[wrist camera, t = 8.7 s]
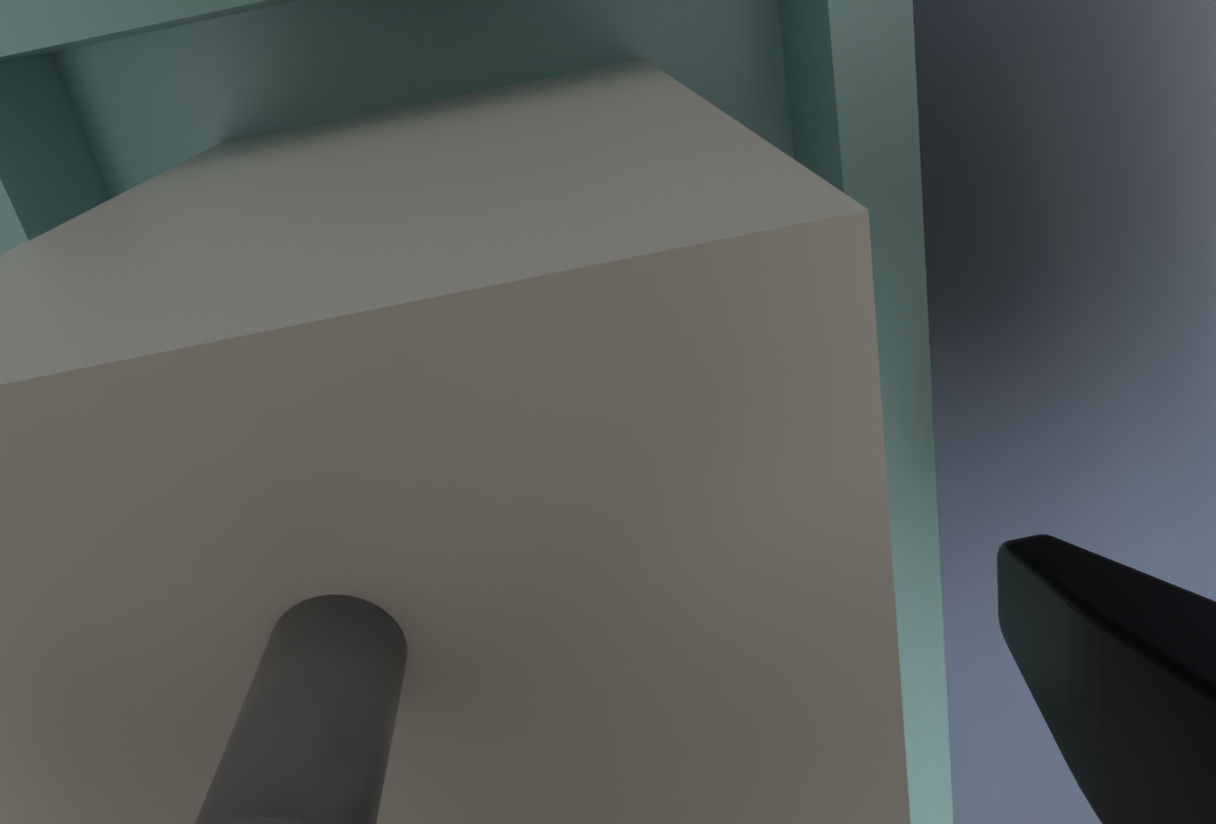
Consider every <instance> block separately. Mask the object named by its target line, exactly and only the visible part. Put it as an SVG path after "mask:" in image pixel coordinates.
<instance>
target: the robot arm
mask: <svg viewBox="0 0 1216 824" xmlns="http://www.w3.org/2000/svg"><path fill="white" fill-rule="evenodd" d="M997 581H998V618H999V624H1000V627H1001V631H1002V634H1003V637H1004V639H1005V641H1006V644H1007V646H1008V648H1009V650H1010V652H1011V654H1012V656H1013V658H1014V660H1015V662H1016V664H1017V666H1018V668H1019V670H1020V672H1021V674H1022V676H1023V677H1024V679H1025V681H1026V683H1027V685H1028V687H1029V689H1030V691H1031V693H1032V695H1033V697H1034V699H1035V701H1036V703H1037V705H1038V707H1039V709H1040V711H1041V713H1042V715H1043V717H1044V719H1045V721H1046V723H1047V725H1048V727H1049V729H1050V731H1051V733H1052V735H1053V737H1054V739H1055V741H1056V743H1057V745H1058V747H1059V749H1060V751H1061V753H1062V755H1063V757H1064V759H1065V761H1066V763H1067V765H1068V767H1069V769H1070V771H1071V772H1072V774H1073V776H1074V778H1075V780H1076V782H1077V784H1078V786H1079V787H1080V789H1081V790H1082V792H1083V794H1084V795H1085V797H1086V799H1087V800H1088V802H1089V804H1090V805H1091V807H1092V808H1093V810H1094V812H1095V813H1096V815H1097V816H1098V818H1099V819H1100V821H1101V823H1102V824H1216V601H1213V600H1211V599H1208V598H1206V597H1203V596H1201V595H1198V594H1196V593H1193V592H1191V591H1188V590H1186V589H1183V588H1181V587H1178V586H1176V585H1173V584H1171V583H1168V582H1166V581H1163V580H1161V579H1158V578H1156V577H1153V576H1151V575H1148V574H1146V573H1143V572H1141V571H1138V570H1136V569H1133V568H1131V567H1128V566H1126V565H1123V564H1121V563H1118V562H1116V561H1113V560H1111V559H1108V558H1106V557H1103V556H1101V555H1098V554H1095V553H1093V552H1090V551H1088V550H1085V549H1083V548H1080V547H1078V546H1075V545H1073V544H1070V543H1068V542H1065V541H1063V540H1060V539H1058V538H1055V537H1053V536H1050V535H1046V534H1039V535H1034V536H1029V537H1024V538H1019V539H1014V540H1009V541H1006V542H1004V543H1003V544H1002V545H1001V546H1000V547H999V551H998V555H997Z"/></svg>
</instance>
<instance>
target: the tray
mask: <svg viewBox="0 0 1216 824" xmlns="http://www.w3.org/2000/svg"><path fill="white" fill-rule="evenodd" d="M639 58H644V59H646V60H647V61H649V62H650V63H652V64H653V65H655V66H656V67H658V68H659V69H661V70H662V71H664V72H665V73H667V74H668V75H670V76H671V77H673V78H674V79H676V80H677V81H678V82H680V83H681V84H683V85H684V86H686V87H687V88H689V89H690V90H692V91H693V92H695V93H696V94H698V95H699V96H701V97H702V98H704V99H705V100H707V101H708V102H710V103H711V104H713V105H714V106H716V107H717V108H719V109H720V110H722V111H723V112H724V113H726V114H727V115H729V116H730V117H732V118H733V119H735V120H736V121H738V122H739V123H741V124H742V125H744V126H745V127H747V128H748V129H750V130H751V131H753V132H754V133H756V134H757V135H759V136H760V137H762V138H763V139H765V140H766V141H768V142H769V143H771V144H772V145H773V146H775V147H776V148H778V149H779V150H781V151H782V152H784V153H785V154H787V155H788V156H790V157H791V158H793V159H794V160H796V161H797V162H799V163H800V164H802V165H803V166H805V167H806V168H808V169H809V170H811V171H812V172H814V173H815V174H817V175H818V176H820V177H821V178H822V179H824V180H825V181H827V182H828V183H830V184H831V185H833V186H834V187H836V188H837V189H839V190H840V191H842V192H843V193H845V194H846V195H848V196H849V197H851V198H852V199H854V200H855V201H857V202H858V203H860V204H861V205H863V206H864V207H866V208H867V209H868V212H869V227H870V241H871V256H872V270H873V285H874V299H875V314H876V328H877V343H878V357H879V372H880V386H881V401H882V415H883V430H884V445H885V459H886V474H887V488H888V503H889V517H890V532H891V546H892V561H893V575H894V590H895V604H896V619H897V633H898V648H899V662H900V677H901V691H902V706H903V720H904V735H905V749H906V764H907V778H908V793H909V807H910V822H911V824H953V806H952V786H951V765H950V745H949V725H948V705H947V685H946V664H945V644H944V624H943V604H942V584H941V563H940V543H939V523H938V503H937V483H936V462H935V442H934V422H933V402H932V382H931V361H930V341H929V321H928V301H927V281H926V260H925V240H924V220H923V200H922V180H921V159H920V139H919V119H918V99H917V79H916V58H915V38H914V18H913V0H0V255H2V254H4V253H6V252H8V251H10V250H12V249H14V248H16V247H18V246H20V245H22V244H24V243H26V242H28V241H30V240H32V239H34V238H36V237H38V236H39V235H41V234H43V233H45V232H47V231H49V230H51V229H53V228H55V227H57V226H59V225H61V224H63V223H65V222H67V221H69V220H71V219H73V218H75V217H77V216H79V215H81V214H83V213H85V212H86V211H88V210H90V209H92V208H94V207H96V206H98V205H100V204H102V203H104V202H106V201H108V200H110V199H112V198H114V197H116V196H118V195H120V194H122V193H124V192H126V191H128V190H130V189H132V188H134V187H135V186H137V185H139V184H141V183H143V182H145V181H147V180H149V179H151V178H153V177H155V176H157V175H159V174H161V173H163V172H165V171H167V170H169V169H171V168H173V167H175V166H177V165H179V164H181V163H182V162H184V161H186V160H188V159H190V158H192V157H194V156H196V155H198V154H200V153H202V152H204V151H206V150H208V149H210V148H212V147H214V146H216V145H218V144H223V143H228V142H233V141H238V140H243V139H248V138H253V137H257V136H262V135H267V134H272V133H277V132H282V131H287V130H292V129H297V128H302V127H306V126H311V125H316V124H321V123H326V122H331V121H336V120H341V119H346V118H350V117H355V116H360V115H365V114H370V113H375V112H380V111H385V110H390V109H394V108H399V107H404V106H409V105H414V104H419V103H424V102H429V101H434V100H439V99H443V98H448V97H453V96H458V95H463V94H468V93H473V92H478V91H483V90H487V89H492V88H497V87H502V86H507V85H512V84H517V83H522V82H527V81H531V80H536V79H541V78H546V77H551V76H556V75H561V74H566V73H571V72H575V71H580V70H585V69H590V68H595V67H600V66H605V65H610V64H615V63H620V62H624V61H629V60H634V59H639Z"/></svg>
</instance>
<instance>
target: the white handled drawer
mask: <svg viewBox="0 0 1216 824" xmlns="http://www.w3.org/2000/svg"><path fill="white" fill-rule="evenodd" d="M0 824H911V822H910V807H909V793H908V778H907V764H906V749H905V735H904V720H903V706H902V691H901V677H900V662H899V648H898V633H897V619H896V604H895V590H894V575H893V561H892V546H891V532H890V517H889V503H888V488H887V474H886V459H885V445H884V430H883V415H882V401H881V386H880V372H879V357H878V343H877V328H876V314H875V299H874V285H873V270H872V256H871V241H870V227H869V212H868V209H867V208H866V207H864V206H863V205H861V204H860V203H858V202H857V201H855V200H854V199H852V198H851V197H849V196H848V195H846V194H845V193H843V192H842V191H840V190H839V189H837V188H836V187H834V186H833V185H831V184H830V183H828V182H827V181H825V180H824V179H822V178H821V177H820V176H818V175H817V174H815V173H814V172H812V171H811V170H809V169H808V168H806V167H805V166H803V165H802V164H800V163H799V162H797V161H796V160H794V159H793V158H791V157H790V156H788V155H787V154H785V153H784V152H782V151H781V150H779V149H778V148H776V147H775V146H773V145H772V144H771V143H769V142H768V141H766V140H765V139H763V138H762V137H760V136H759V135H757V134H756V133H754V132H753V131H751V130H750V129H748V128H747V127H745V126H744V125H742V124H741V123H739V122H738V121H736V120H735V119H733V118H732V117H730V116H729V115H727V114H726V113H724V112H723V111H722V110H720V109H719V108H717V107H716V106H714V105H713V104H711V103H710V102H708V101H707V100H705V99H704V98H702V97H701V96H699V95H698V94H696V93H695V92H693V91H692V90H690V89H689V88H687V87H686V86H684V85H683V84H681V83H680V82H678V81H677V80H676V79H674V78H673V77H671V76H670V75H668V74H667V73H665V72H664V71H662V70H661V69H659V68H658V67H656V66H655V65H653V64H652V63H650V62H649V61H647V60H646V59H644V58H639V59H634V60H629V61H624V62H620V63H615V64H610V65H605V66H600V67H595V68H590V69H585V70H580V71H575V72H571V73H566V74H561V75H556V76H551V77H546V78H541V79H536V80H531V81H527V82H522V83H517V84H512V85H507V86H502V87H497V88H492V89H487V90H483V91H478V92H473V93H468V94H463V95H458V96H453V97H448V98H443V99H439V100H434V101H429V102H424V103H419V104H414V105H409V106H404V107H399V108H394V109H390V110H385V111H380V112H375V113H370V114H365V115H360V116H355V117H350V118H346V119H341V120H336V121H331V122H326V123H321V124H316V125H311V126H306V127H302V128H297V129H292V130H287V131H282V132H277V133H272V134H267V135H262V136H257V137H253V138H248V139H243V140H238V141H233V142H228V143H223V144H218V145H216V146H214V147H212V148H210V149H208V150H206V151H204V152H202V153H200V154H198V155H196V156H194V157H192V158H190V159H188V160H186V161H184V162H182V163H181V164H179V165H177V166H175V167H173V168H171V169H169V170H167V171H165V172H163V173H161V174H159V175H157V176H155V177H153V178H151V179H149V180H147V181H145V182H143V183H141V184H139V185H137V186H135V187H134V188H132V189H130V190H128V191H126V192H124V193H122V194H120V195H118V196H116V197H114V198H112V199H110V200H108V201H106V202H104V203H102V204H100V205H98V206H96V207H94V208H92V209H90V210H88V211H86V212H85V213H83V214H81V215H79V216H77V217H75V218H73V219H71V220H69V221H67V222H65V223H63V224H61V225H59V226H57V227H55V228H53V229H51V230H49V231H47V232H45V233H43V234H41V235H39V236H38V237H36V238H34V239H32V240H30V241H28V242H26V243H24V244H22V245H20V246H18V247H16V248H14V249H12V250H10V251H8V252H6V253H4V254H2V255H0Z"/></svg>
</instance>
